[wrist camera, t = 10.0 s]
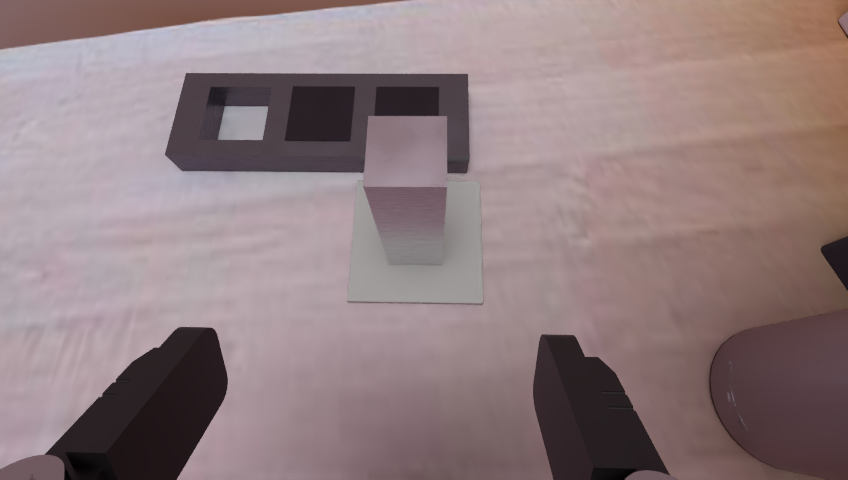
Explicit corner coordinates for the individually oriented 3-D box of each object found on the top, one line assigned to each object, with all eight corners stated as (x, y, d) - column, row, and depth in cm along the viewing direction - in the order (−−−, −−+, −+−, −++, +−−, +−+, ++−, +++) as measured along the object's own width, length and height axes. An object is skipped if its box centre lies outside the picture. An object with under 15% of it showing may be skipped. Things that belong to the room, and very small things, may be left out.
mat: (479, 183, 35) (479, 181, 35) (482, 304, 32) (482, 303, 32) (358, 182, 36) (357, 180, 35) (348, 302, 32) (347, 301, 32)
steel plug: (441, 217, 34) (446, 116, 22) (441, 265, 33) (447, 187, 20) (391, 216, 34) (368, 116, 22) (389, 265, 33) (363, 186, 20)
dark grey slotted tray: (465, 93, 38) (467, 73, 36) (466, 172, 36) (469, 156, 33) (200, 92, 39) (185, 72, 37) (182, 170, 36) (164, 154, 34)
